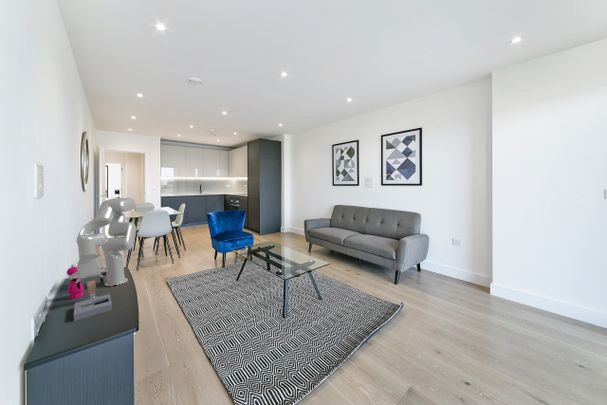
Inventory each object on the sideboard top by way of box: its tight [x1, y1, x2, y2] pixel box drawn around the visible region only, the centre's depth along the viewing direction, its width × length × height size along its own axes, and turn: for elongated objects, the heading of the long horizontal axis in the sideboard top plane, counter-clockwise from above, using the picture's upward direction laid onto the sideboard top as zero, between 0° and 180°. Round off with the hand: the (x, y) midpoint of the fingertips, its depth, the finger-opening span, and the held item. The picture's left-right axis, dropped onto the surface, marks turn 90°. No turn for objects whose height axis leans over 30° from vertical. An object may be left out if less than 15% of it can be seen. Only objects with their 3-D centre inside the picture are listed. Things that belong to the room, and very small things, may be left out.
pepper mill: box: [66, 264, 85, 300], centre depth 149 cm, size 7×7×20 cm
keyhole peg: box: [86, 279, 99, 299], centre depth 144 cm, size 5×5×11 cm
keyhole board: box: [73, 293, 113, 322], centre depth 133 cm, size 17×15×3 cm
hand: (90, 286), depth 143 cm, fingers open, 9 cm apart
